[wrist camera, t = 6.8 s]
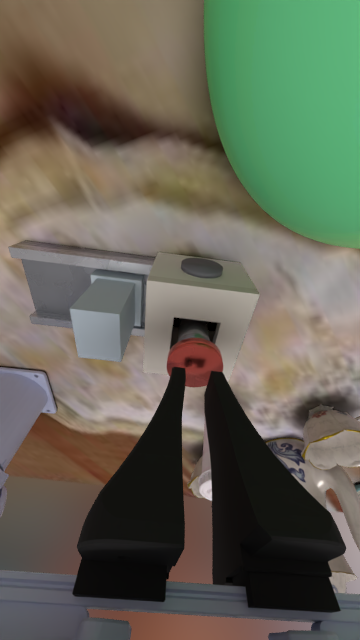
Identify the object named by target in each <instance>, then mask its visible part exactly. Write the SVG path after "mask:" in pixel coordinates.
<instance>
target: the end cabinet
mask: <svg viewBox="0 0 360 640" xmlns="http://www.w3.org/2000/svg"><path fill="white" fill-rule="evenodd" d="M259 296H260V294H259V292H258V291H257V289H256V287H255V286H254V284H253V283H252V281H251V279H250V278H249V276H248V274H247V273H246V271H245V270H244V268H243V266H242V265H241V263H239V262H231V261H223V260H216V259H208V258H201V257H193V256H185V255H178V254H170V253H163V252H158V253H157V256H156V258H155V261H154V263H153V266H152V268H151V271H150V273H149V276H148V278H147V287H146V311H145V335H144V359H143V373H152V374H161V375H169V374H168V372H167V358H168V353H169V351H170V349H171V348H172V346H173V345H175V344H176V343H177V342H178V335H179V327H173V319H174V317H176V318H184V319H193V320H201V321H210V322H217V326H216V330H215V332H214V331H208V332H209V339H210V341H211V342H212V343H214V344H215V345H216V346H217V347H218V348H219V350H220V352H221V355H222V361H223V374H224V376H225V378H226V380H227V382H228V381H229V379H230V376H231V373H232V370H233V368H234V365H235V362H236V359H237V357H238V354H239V351H240V348H241V345H242V343H243V340H244V337H245V334H246V332H247V329H248V326H249V323H250V321H251V318H252V315H253V312H254V309H255V307H256V304H257V301H258V298H259Z"/></svg>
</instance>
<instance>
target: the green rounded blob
mask: <svg viewBox="0 0 360 640" xmlns="http://www.w3.org/2000/svg"><path fill="white" fill-rule="evenodd" d="M204 49H205V63H206V74H207V82H208V89H209V95H210V101H211V106H212V111H213V115H214V119H215V123H216V127H217V130H218V133H219V136H220V139H221V142H222V145H223V148H224V150H225V153H226V155H227V157H228V160H229V162H230V164H231V166H232V168H233V170H234V172H235V173H236V175H237V177H238V179H239V180H240V182H241V183H242V185H243V186H244V188H245V189H246V191H247V192H248V193H249V194H250V196H251V197H252V198H253V199H254V200H255V202H256V203H257V204H258V205H259V206H260V207H261V208H262V209H263V210H264V211H265V212H266V213H268V214H269V215H270V216H271V217H272V218H274V219H275V220H276V221H278V222H279V223H280V224H282V225H283V226H285V227H287V228H288V229H290V230H292V231H294V232H296V233H298V234H300V235H302V236H304V237H307V238H310V239H312V240H315V241H319V242H322V243H326V244H330V245H335V246H341V247H348V248H359V249H360V0H204Z"/></svg>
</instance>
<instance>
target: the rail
mask: <svg viewBox="0 0 360 640" xmlns="http://www.w3.org/2000/svg"><path fill="white" fill-rule="evenodd" d="M8 248H9V251H10V254H11V257H12V258H20V259H21V260H22V263H23V267H24V270H25V274H26V277H27V281H28V284H29V288H30V292H31V295H32V299H33V302H34V306H35V309H36V311H35V312H34V313H33V314H31V315H30V320H31V323H32V324H40V325H49V326H57V327H66V328H73V325H72V319H71V314H70V308H71V306H72V305H73V304H74V303H75V302H76V301H77V300H78V299H79V298H80V296H81V295H82V294H83V293H84V292H85V291H86V290H87V289H88V288H89V286H90V285H91V274H92V273H93V272H94V271H95V270H96V269H97V270H105V271H113V272H120V273H128V274H136V275H144V291H143V319H142V322H141V326H134V327H133V330H132V333H131V335H136V336H144V335H145V311H146V287H147V278H148V276H149V273H150V271H151V268H152V266H153V263H154V261H155V257H148V256H140V255H132V254H125V253H117V252H109V251H102V250H94V249H86V248H79V247H71V246H63V245H56V244H48V243H40V242H33V241H22V242H20V243H17V244H15V245H12V246H9V247H8Z"/></svg>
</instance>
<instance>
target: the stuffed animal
mask: <svg viewBox="0 0 360 640" xmlns="http://www.w3.org/2000/svg"><path fill="white" fill-rule="evenodd" d="M354 486H355V489H356V491H357V494H358V497H359V500H360V484H359V485H354Z"/></svg>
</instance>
